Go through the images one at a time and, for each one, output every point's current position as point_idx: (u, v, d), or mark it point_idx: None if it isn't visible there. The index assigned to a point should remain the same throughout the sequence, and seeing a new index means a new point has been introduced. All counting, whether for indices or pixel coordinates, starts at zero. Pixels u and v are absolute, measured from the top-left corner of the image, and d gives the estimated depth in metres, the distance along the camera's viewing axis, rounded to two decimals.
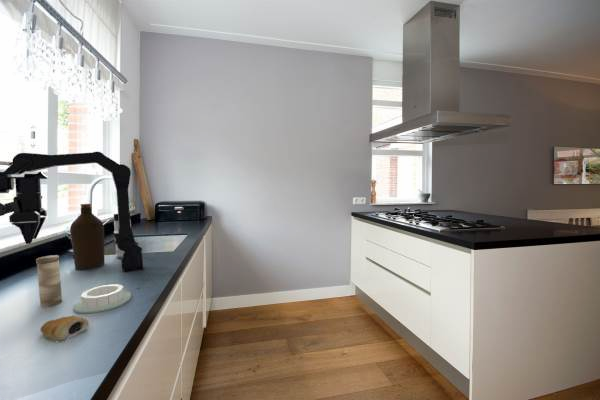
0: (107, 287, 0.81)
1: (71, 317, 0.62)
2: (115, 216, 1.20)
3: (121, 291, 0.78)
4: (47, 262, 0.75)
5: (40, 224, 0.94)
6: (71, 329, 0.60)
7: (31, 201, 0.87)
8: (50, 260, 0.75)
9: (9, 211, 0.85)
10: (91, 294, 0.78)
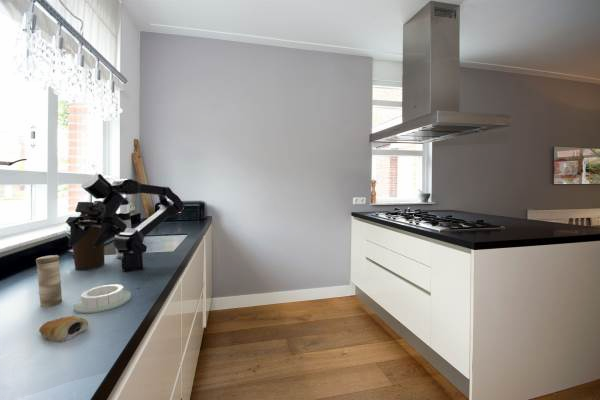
0: (107, 287, 0.81)
1: (70, 317, 0.62)
2: None
3: (121, 291, 0.78)
4: (47, 262, 0.75)
5: (81, 236, 0.93)
6: (71, 330, 0.60)
7: (112, 214, 0.96)
8: (50, 260, 0.75)
9: (97, 212, 0.90)
10: (91, 294, 0.78)
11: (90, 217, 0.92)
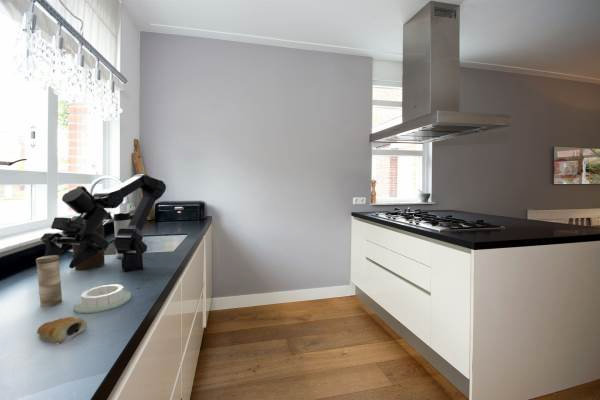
0: (107, 287, 0.81)
1: (69, 318, 0.62)
2: (115, 216, 1.20)
3: (121, 291, 0.78)
4: (47, 262, 0.75)
5: (58, 255, 0.84)
6: (69, 331, 0.59)
7: (93, 231, 0.87)
8: (50, 260, 0.75)
9: (75, 229, 0.82)
10: (91, 294, 0.78)
11: (68, 234, 0.83)
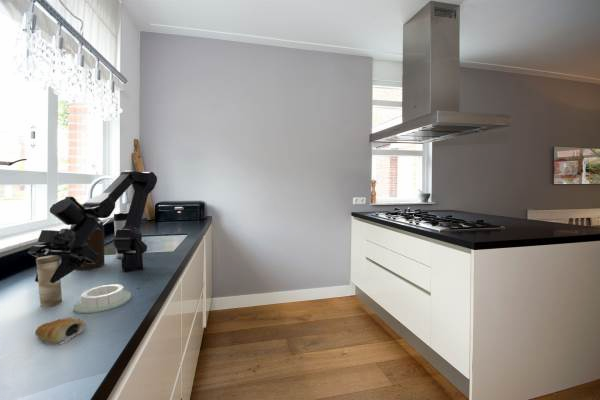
0: (107, 287, 0.81)
1: (67, 319, 0.61)
2: (115, 216, 1.20)
3: (121, 291, 0.78)
4: (47, 262, 0.74)
5: None
6: (68, 332, 0.59)
7: (83, 243, 0.84)
8: (50, 260, 0.75)
9: (64, 242, 0.78)
10: (91, 294, 0.78)
11: (56, 247, 0.80)
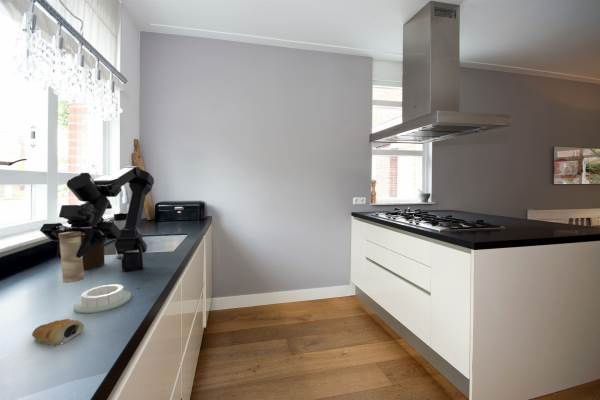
0: (107, 287, 0.81)
1: (65, 320, 0.61)
2: (115, 216, 1.20)
3: (121, 291, 0.78)
4: (73, 236, 0.74)
5: None
6: (67, 333, 0.59)
7: (99, 220, 0.83)
8: (75, 235, 0.74)
9: (85, 217, 0.78)
10: (91, 294, 0.78)
11: (74, 223, 0.78)
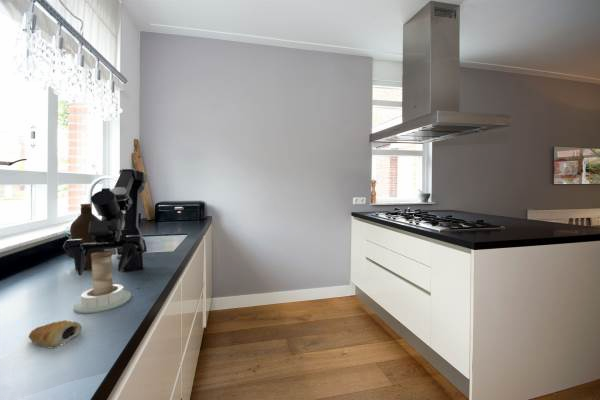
0: None
1: (63, 322, 0.60)
2: None
3: (121, 291, 0.78)
4: (107, 256, 0.76)
5: (85, 262, 0.78)
6: (65, 334, 0.58)
7: (120, 234, 0.85)
8: (109, 254, 0.77)
9: (112, 232, 0.79)
10: (91, 294, 0.78)
11: (99, 238, 0.79)
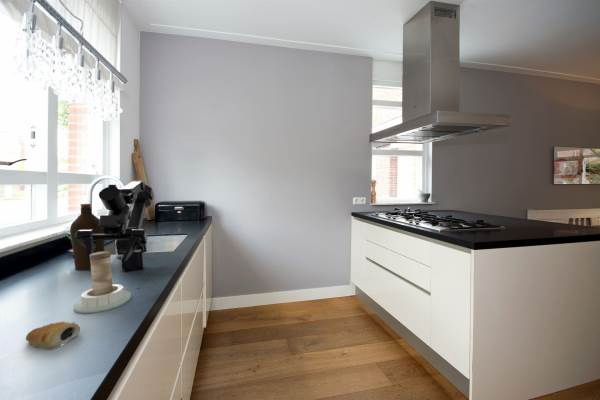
0: None
1: (61, 323, 0.60)
2: None
3: (121, 291, 0.78)
4: (106, 257, 0.76)
5: (94, 251, 0.87)
6: (63, 335, 0.58)
7: (126, 226, 0.93)
8: (108, 255, 0.76)
9: (119, 226, 0.88)
10: (91, 294, 0.78)
11: (107, 230, 0.87)
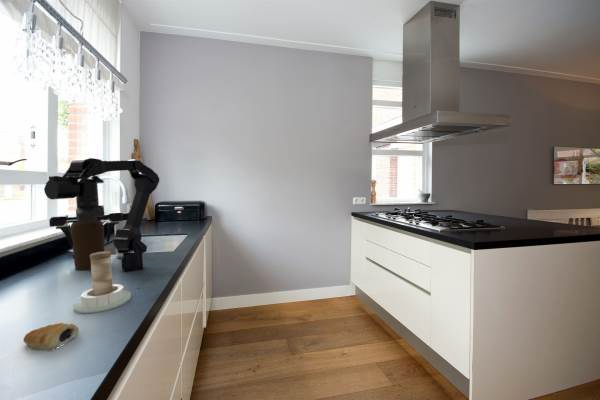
0: None
1: (59, 324, 0.59)
2: None
3: (121, 291, 0.78)
4: (106, 256, 0.76)
5: None
6: (62, 337, 0.57)
7: None
8: (108, 255, 0.76)
9: None
10: (91, 294, 0.78)
11: None
